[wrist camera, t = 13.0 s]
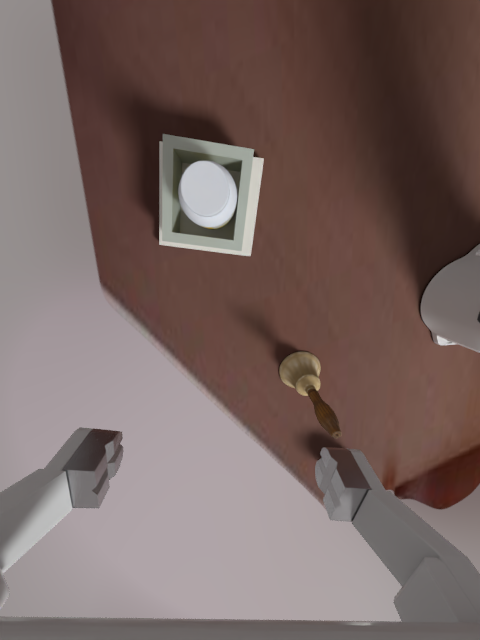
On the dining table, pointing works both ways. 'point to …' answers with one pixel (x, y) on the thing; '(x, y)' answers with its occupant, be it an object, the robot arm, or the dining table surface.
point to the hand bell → (309, 386)
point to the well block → (172, 218)
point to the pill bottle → (208, 194)
